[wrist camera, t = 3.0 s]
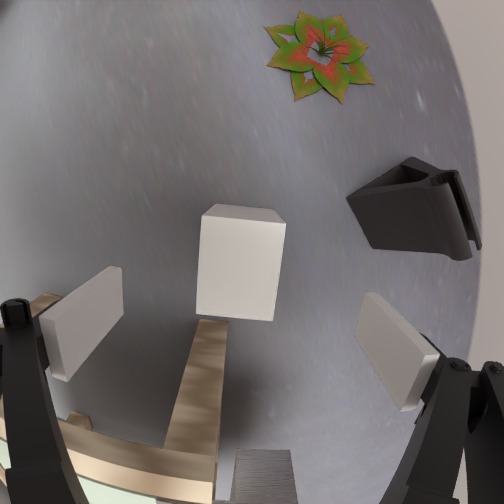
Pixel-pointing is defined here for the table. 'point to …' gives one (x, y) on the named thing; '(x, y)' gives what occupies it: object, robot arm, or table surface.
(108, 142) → the table surface
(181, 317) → the table surface
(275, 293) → the white rectangular block
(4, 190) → the table surface
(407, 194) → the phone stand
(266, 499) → the trapdoor
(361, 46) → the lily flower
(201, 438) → the trapdoor frame
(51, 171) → the table surface
